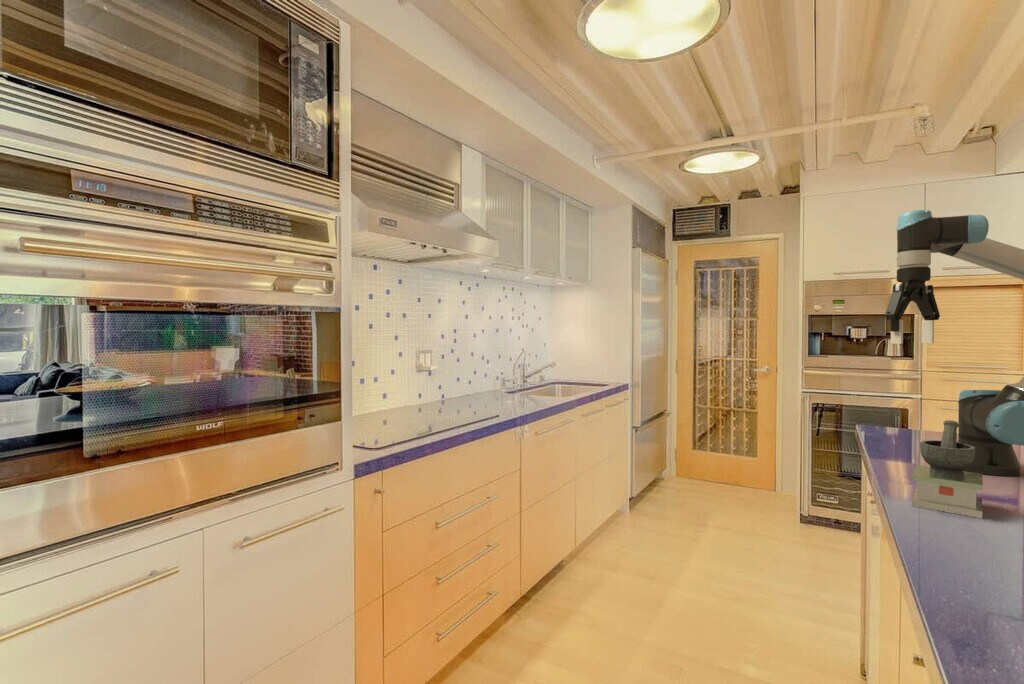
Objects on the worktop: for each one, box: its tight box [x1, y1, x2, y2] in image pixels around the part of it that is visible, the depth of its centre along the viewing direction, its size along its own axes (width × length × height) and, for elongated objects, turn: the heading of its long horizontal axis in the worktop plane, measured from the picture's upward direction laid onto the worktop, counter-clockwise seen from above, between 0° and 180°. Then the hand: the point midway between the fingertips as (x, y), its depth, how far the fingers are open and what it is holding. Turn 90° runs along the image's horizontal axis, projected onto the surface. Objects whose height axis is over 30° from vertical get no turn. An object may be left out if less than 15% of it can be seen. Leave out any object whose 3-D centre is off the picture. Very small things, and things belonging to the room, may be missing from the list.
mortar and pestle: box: [919, 419, 975, 478], centre depth 120 cm, size 11×9×12 cm
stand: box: [911, 464, 984, 519], centre depth 120 cm, size 12×12×7 cm
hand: (912, 343), depth 146 cm, fingers open, 13 cm apart
